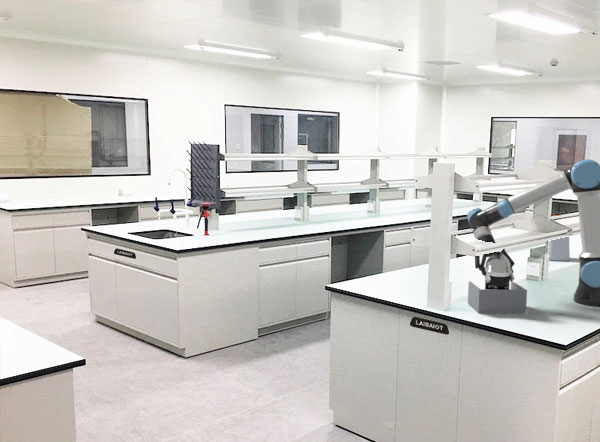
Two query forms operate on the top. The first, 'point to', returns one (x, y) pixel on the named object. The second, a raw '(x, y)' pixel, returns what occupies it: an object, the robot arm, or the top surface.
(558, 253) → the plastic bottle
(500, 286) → the silver and black canister
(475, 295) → the box
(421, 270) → the top surface
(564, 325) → the top surface
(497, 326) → the top surface
